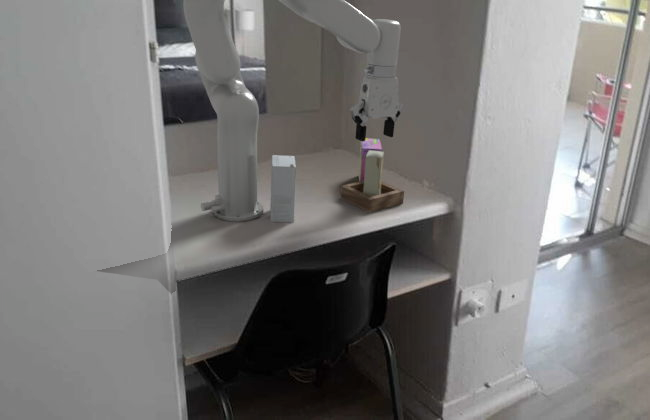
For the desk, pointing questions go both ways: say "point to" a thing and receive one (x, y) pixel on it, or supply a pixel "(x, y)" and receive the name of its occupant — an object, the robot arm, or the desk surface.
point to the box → (364, 148)
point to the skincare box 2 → (373, 173)
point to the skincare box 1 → (283, 188)
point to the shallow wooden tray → (368, 203)
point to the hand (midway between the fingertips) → (374, 137)
